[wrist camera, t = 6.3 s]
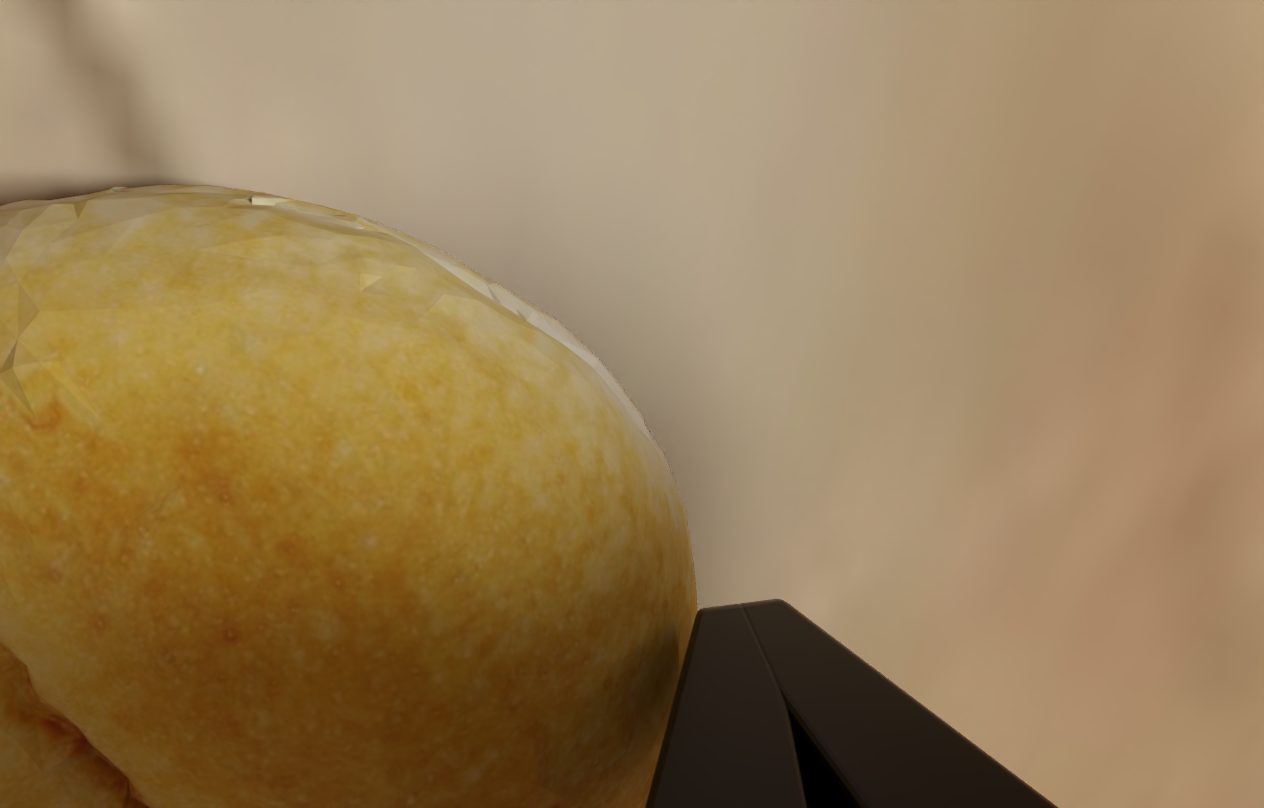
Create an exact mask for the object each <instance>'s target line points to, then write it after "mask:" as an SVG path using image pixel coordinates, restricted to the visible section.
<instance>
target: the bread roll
mask: <svg viewBox="0 0 1264 808" xmlns="http://www.w3.org/2000/svg"><path fill="white" fill-rule="evenodd" d="M123 188H124V189H123ZM697 612H698V611H697V596H696V582H695V572H694V565H693V557H692V550H691V543H690V536H689V529H688V521H687V514H686V510H685V507H684V505H683V502H682V499H681V497H680V494H679V492H678V489H677V486H676V484H675V481H674V478H673V476H672V473H671V471H670V468H669V466H668V463H667V461H666V458H665V456H664V454H663V453H662V451H661V450H660V448H659V447H658V445H657V444H656V442H655V441H654V439H653V438H652V436H651V435H650V433H649V432H648V430H647V428H646V426H645V423H644V421H643V418H642V416H641V414H640V413H639V411H638V410H637V409H636V407H635V406H634V404H633V403H632V402H631V400H630V399H629V397H628V396H627V395H626V393H625V392H624V390H623V389H622V388H621V386H620V385H619V383H618V382H617V381H616V379H615V378H614V377H613V375H612V374H611V373H610V372H609V371H608V369H607V368H606V367H605V366H604V365H603V364H602V362H601V361H600V360H599V359H598V358H597V357H596V356H595V355H594V354H593V353H592V352H590V351H589V350H588V349H587V348H586V347H585V346H584V345H583V344H582V343H581V342H580V341H579V340H578V339H576V338H575V337H574V336H573V335H572V334H571V333H570V332H569V331H568V330H567V329H566V328H565V327H564V326H562V325H561V324H560V323H559V322H558V321H557V320H556V319H554V318H553V317H551V316H550V315H548V314H546V313H545V312H543V311H542V310H540V309H539V308H537V307H535V306H534V305H532V304H531V303H529V302H527V301H526V300H524V299H523V298H521V297H519V296H518V295H516V294H514V293H512V292H510V291H509V290H507V289H505V288H503V287H502V286H500V285H498V284H496V283H494V282H492V281H490V280H488V279H487V278H485V277H483V276H481V275H480V274H478V273H477V272H475V271H474V270H472V269H471V268H469V267H468V266H466V265H464V264H463V263H461V262H460V261H458V260H457V259H455V258H454V257H452V256H451V255H449V254H448V253H446V252H444V251H441V250H439V249H437V248H435V247H433V246H431V245H428V244H426V243H424V242H422V241H420V240H417V239H415V238H413V237H411V236H409V235H406V234H404V233H402V232H399V231H397V230H395V229H392V228H390V227H388V226H385V225H383V224H381V223H378V222H376V221H373V220H369V219H366V218H362V217H360V216H357V215H353V214H350V213H346V212H342V211H339V210H335V209H331V208H328V207H324V206H320V205H316V204H311V203H307V202H302V201H298V200H293V199H289V198H284V197H280V196H275V195H271V194H266V193H261V192H254V191H247V190H239V189H232V188H225V187H217V186H210V185H155V186H145V187H135V188H126V187H112V188H110V189H108V190H105V191H100V192H96V193H91V194H86V195H80V196H74V197H67V198H61V199H55V200H23V201H18V202H13V203H9V204H6V205H2V206H0V808H645V806H646V802H647V799H648V795H649V791H650V787H651V783H652V780H653V776H654V772H655V768H656V764H657V761H658V757H659V753H660V749H661V745H662V742H663V738H664V734H665V730H666V726H667V723H668V719H669V715H670V711H671V707H672V703H673V700H674V696H675V692H676V688H677V684H678V681H679V677H680V673H681V669H682V665H683V662H684V658H685V654H686V650H687V646H688V643H689V639H690V635H691V631H692V627H693V624H694V620H695V616H696V614H697Z"/></svg>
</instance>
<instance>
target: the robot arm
mask: <svg viewBox="0 0 1264 808" xmlns="http://www.w3.org/2000/svg"><path fill="white" fill-rule="evenodd" d="M645 808H1058V807H1057V806H1056V805H1054V804H1053V803H1052V802H1050V801H1049V800H1048V799H1046V798H1045V797H1044V796H1042V795H1041V794H1040V793H1038V792H1037V791H1036V790H1034V789H1033V788H1032V787H1030V786H1029V785H1028V784H1026V783H1025V782H1024V781H1022V780H1021V779H1020V778H1018V777H1017V776H1016V775H1015V774H1013V773H1012V772H1011V771H1009V770H1008V769H1007V768H1005V767H1004V766H1003V765H1001V764H1000V763H999V762H997V761H996V760H995V759H993V758H992V757H991V756H989V755H988V754H987V753H985V752H984V751H983V750H981V749H980V748H979V747H977V746H976V745H975V744H974V743H972V742H971V741H970V740H968V739H967V738H966V737H964V736H963V735H962V734H960V733H959V732H958V731H956V730H955V729H954V728H952V727H951V726H950V725H948V724H947V723H946V722H944V721H943V720H942V719H940V718H939V717H938V716H936V715H935V714H934V713H932V712H931V711H930V710H929V709H927V708H926V707H925V706H923V705H922V704H921V703H919V702H918V701H917V700H915V699H914V698H913V697H911V696H910V695H909V694H907V693H906V692H905V691H903V690H902V689H901V688H899V687H898V686H897V685H895V684H894V683H893V682H891V681H890V680H889V679H887V678H886V677H885V676H884V675H882V674H881V673H880V672H878V671H877V670H876V669H874V668H873V667H872V666H870V665H869V664H868V663H866V662H865V661H864V660H862V659H861V658H860V657H858V656H857V655H856V654H854V653H853V652H852V651H850V650H849V649H848V648H846V647H845V646H844V645H842V644H841V643H840V642H839V641H837V640H836V639H835V638H833V637H832V636H831V635H829V634H828V633H827V632H825V631H824V630H823V629H821V628H820V627H819V626H817V625H816V624H815V623H813V622H812V621H811V620H809V619H808V618H807V617H805V616H804V615H803V614H801V613H800V612H799V611H797V610H796V609H795V608H794V607H792V606H791V605H790V604H788V603H787V602H785V601H783V600H780V599H772V600H764V601H756V602H749V603H741V604H733V605H725V606H717V607H709V608H703V609H700V610H699V611H698V612H697V614H696V616H695V620H694V624H693V627H692V631H691V635H690V639H689V643H688V646H687V650H686V654H685V658H684V662H683V665H682V669H681V673H680V677H679V681H678V684H677V688H676V692H675V696H674V700H673V703H672V707H671V711H670V715H669V719H668V723H667V726H666V730H665V734H664V738H663V742H662V745H661V749H660V753H659V757H658V761H657V764H656V768H655V772H654V776H653V780H652V783H651V787H650V791H649V795H648V799H647V802H646V806H645Z"/></svg>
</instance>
